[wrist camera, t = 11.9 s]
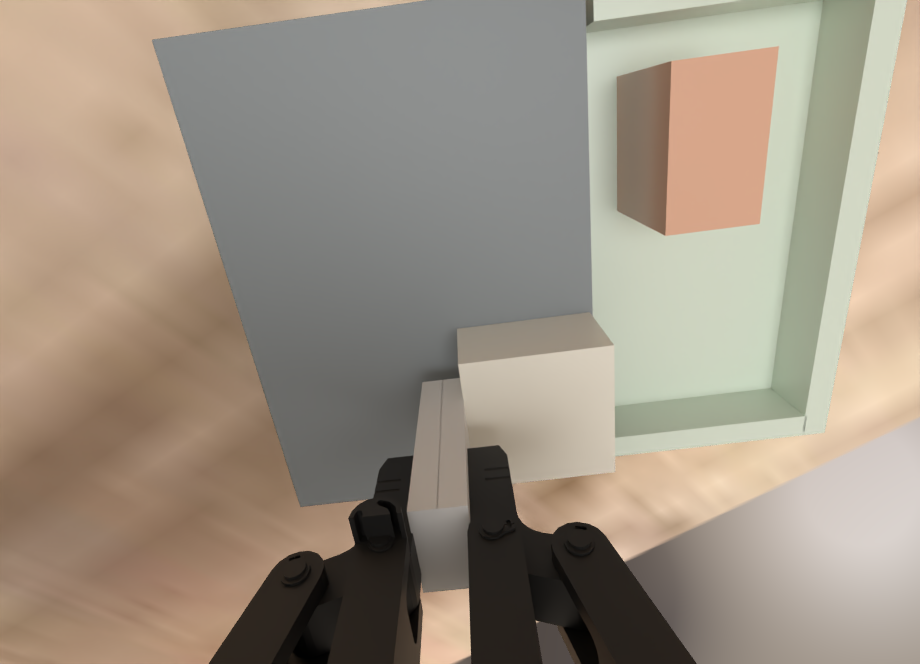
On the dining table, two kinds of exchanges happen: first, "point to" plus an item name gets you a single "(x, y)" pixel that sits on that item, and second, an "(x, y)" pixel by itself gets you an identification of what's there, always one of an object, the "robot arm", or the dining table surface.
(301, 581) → the robot arm
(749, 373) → the tray
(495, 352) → the tile cream
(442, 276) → the grey rectangular slab
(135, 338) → the dining table surface
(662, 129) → the tile terracotta
